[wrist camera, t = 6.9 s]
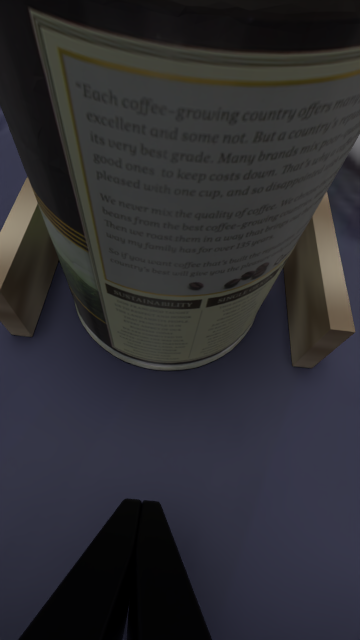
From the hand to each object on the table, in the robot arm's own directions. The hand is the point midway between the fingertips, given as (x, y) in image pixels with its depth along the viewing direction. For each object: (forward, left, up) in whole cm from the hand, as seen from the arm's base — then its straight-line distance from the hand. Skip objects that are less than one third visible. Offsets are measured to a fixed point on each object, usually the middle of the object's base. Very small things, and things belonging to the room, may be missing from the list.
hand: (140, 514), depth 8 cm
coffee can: (+11, -1, -6) cm, 12 cm away
